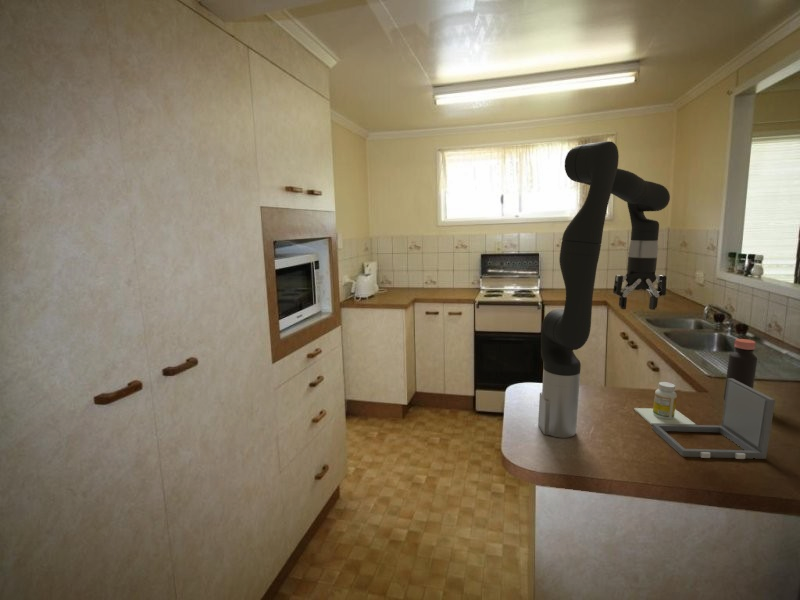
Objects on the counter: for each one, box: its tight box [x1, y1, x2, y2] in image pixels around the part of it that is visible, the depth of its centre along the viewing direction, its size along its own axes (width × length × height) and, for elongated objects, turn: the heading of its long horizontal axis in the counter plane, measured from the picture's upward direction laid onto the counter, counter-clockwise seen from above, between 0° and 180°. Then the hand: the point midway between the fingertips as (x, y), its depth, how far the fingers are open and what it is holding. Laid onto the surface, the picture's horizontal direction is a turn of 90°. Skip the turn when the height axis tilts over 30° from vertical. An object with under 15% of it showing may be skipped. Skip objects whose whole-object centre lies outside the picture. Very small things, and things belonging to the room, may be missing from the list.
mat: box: [633, 407, 697, 426], centre depth 122 cm, size 12×10×1 cm
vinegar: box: [723, 338, 758, 401], centre depth 131 cm, size 7×7×20 cm
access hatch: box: [651, 378, 776, 460], centre depth 107 cm, size 19×15×15 cm
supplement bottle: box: [652, 381, 678, 419], centre depth 122 cm, size 5×5×10 cm
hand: (637, 309), depth 128 cm, fingers open, 8 cm apart
